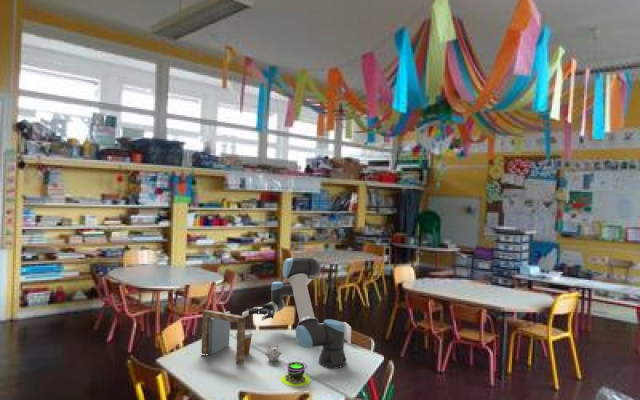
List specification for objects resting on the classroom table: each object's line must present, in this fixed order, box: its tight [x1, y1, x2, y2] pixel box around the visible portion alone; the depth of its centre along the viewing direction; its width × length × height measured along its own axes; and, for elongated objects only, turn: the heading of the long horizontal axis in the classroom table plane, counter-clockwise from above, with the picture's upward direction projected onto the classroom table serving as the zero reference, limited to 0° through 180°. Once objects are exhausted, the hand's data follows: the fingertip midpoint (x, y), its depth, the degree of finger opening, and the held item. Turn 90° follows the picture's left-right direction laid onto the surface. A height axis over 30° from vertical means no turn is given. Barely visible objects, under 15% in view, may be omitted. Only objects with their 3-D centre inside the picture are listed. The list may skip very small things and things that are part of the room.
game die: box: [265, 345, 283, 363], centre depth 253 cm, size 9×8×10 cm
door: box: [207, 311, 231, 356], centre depth 265 cm, size 19×4×20 cm, turn 157°
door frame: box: [200, 309, 247, 365], centre depth 253 cm, size 26×3×25 cm, turn 67°
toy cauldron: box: [280, 356, 311, 387], centre depth 230 cm, size 15×15×11 cm
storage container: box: [319, 321, 352, 345], centre depth 286 cm, size 25×11×11 cm, turn 107°
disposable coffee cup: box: [235, 329, 254, 356], centre depth 262 cm, size 10×10×12 cm
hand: (252, 317), depth 275 cm, fingers open, 13 cm apart
